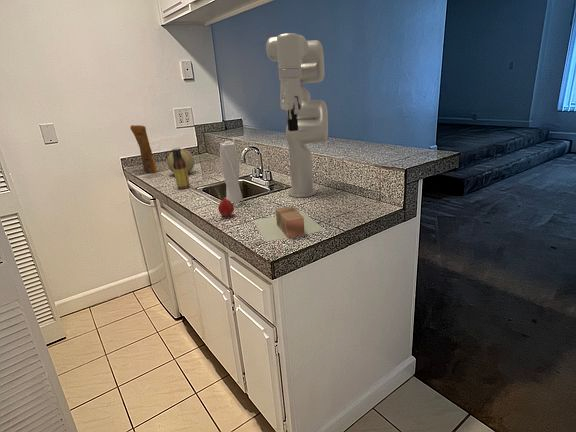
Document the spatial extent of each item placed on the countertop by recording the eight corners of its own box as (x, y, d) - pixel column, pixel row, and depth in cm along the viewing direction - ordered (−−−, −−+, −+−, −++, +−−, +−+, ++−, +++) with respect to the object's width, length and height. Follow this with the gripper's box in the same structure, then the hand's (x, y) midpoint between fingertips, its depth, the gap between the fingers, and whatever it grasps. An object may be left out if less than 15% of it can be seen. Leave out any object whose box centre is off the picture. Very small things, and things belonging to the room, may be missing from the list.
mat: (252, 221, 132) (252, 220, 132) (303, 212, 137) (303, 211, 137) (266, 243, 114) (266, 241, 114) (324, 231, 119) (324, 230, 119)
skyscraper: (248, 201, 155) (241, 136, 145) (237, 207, 149) (229, 139, 138) (233, 199, 159) (225, 135, 149) (221, 205, 153) (212, 139, 143)
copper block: (275, 208, 124) (286, 220, 114) (291, 206, 126) (303, 217, 115) (276, 224, 126) (287, 237, 116) (292, 221, 128) (304, 234, 117)
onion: (216, 217, 138) (213, 198, 135) (228, 213, 142) (226, 194, 139) (225, 221, 134) (222, 201, 131) (237, 216, 138) (235, 196, 135)
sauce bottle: (183, 185, 185) (177, 146, 178) (192, 186, 182) (186, 147, 174) (174, 189, 180) (167, 149, 172) (183, 190, 176) (176, 150, 169)
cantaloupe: (197, 175, 204) (193, 148, 198) (170, 179, 199) (165, 152, 193) (193, 169, 217) (189, 145, 211) (168, 173, 212) (164, 148, 206)
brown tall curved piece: (149, 174, 212) (139, 126, 201) (138, 170, 226) (128, 124, 215) (160, 172, 215) (151, 125, 205) (149, 167, 229) (140, 123, 219)
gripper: (273, 76, 125) (277, 129, 132) (286, 75, 112) (289, 134, 119) (293, 74, 127) (296, 127, 134) (308, 73, 114) (310, 132, 121)
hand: (293, 130), depth 126 cm, fingers closed
